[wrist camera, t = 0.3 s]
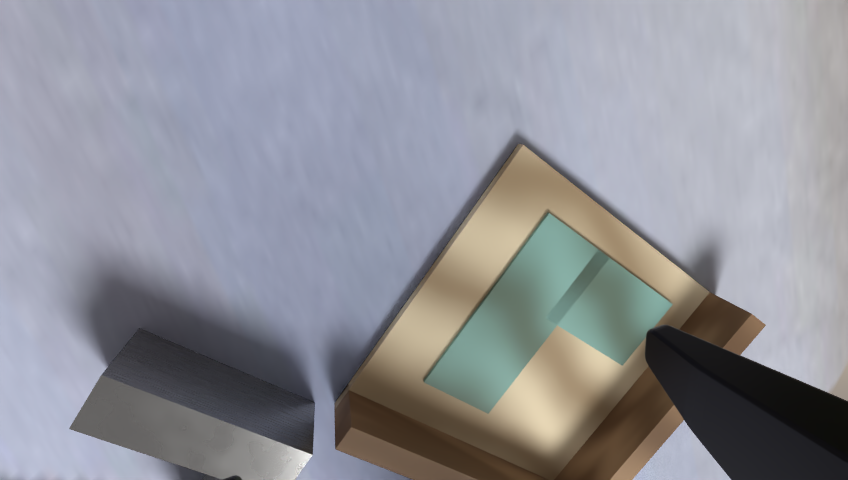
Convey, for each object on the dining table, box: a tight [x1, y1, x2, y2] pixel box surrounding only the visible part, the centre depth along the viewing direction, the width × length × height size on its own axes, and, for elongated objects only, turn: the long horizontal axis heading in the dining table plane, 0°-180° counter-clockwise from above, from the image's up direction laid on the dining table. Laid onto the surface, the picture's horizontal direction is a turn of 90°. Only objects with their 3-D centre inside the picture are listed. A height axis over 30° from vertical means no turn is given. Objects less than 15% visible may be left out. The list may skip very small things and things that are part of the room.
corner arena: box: [334, 144, 766, 480], centre depth 26 cm, size 18×18×4 cm
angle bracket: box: [69, 328, 315, 480], centre depth 23 cm, size 10×9×4 cm
